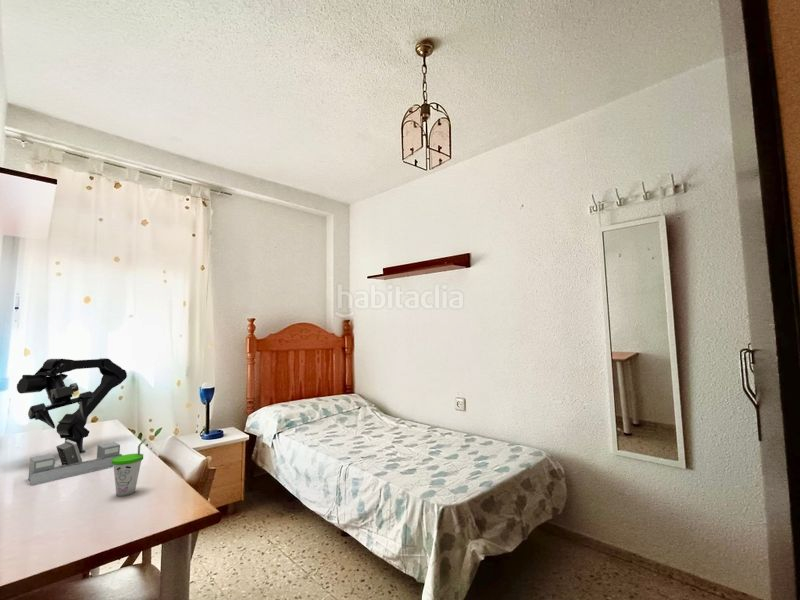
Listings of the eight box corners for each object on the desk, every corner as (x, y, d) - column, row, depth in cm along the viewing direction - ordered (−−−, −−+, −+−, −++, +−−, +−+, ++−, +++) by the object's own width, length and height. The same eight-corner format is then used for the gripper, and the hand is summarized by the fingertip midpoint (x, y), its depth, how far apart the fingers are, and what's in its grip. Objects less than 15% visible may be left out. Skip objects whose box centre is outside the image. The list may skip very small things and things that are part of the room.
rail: (29, 483, 119) (30, 472, 119) (119, 463, 138) (120, 453, 138) (31, 485, 118) (31, 474, 118) (121, 464, 136) (122, 454, 137)
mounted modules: (28, 479, 123) (30, 457, 124) (112, 460, 141) (113, 441, 142) (32, 484, 119) (34, 461, 120) (119, 464, 137) (120, 444, 138)
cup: (103, 500, 105) (107, 446, 107) (116, 489, 113) (119, 439, 115) (135, 496, 107) (138, 443, 109) (146, 486, 115) (148, 437, 117)
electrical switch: (83, 466, 136) (82, 440, 136) (65, 472, 131) (64, 445, 131) (74, 462, 141) (73, 437, 141) (56, 467, 136) (55, 442, 136)
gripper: (26, 385, 134) (41, 422, 130) (90, 371, 150) (104, 404, 146) (22, 401, 140) (35, 437, 136) (83, 386, 155) (97, 417, 151)
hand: (70, 423), depth 142 cm, fingers open, 9 cm apart
